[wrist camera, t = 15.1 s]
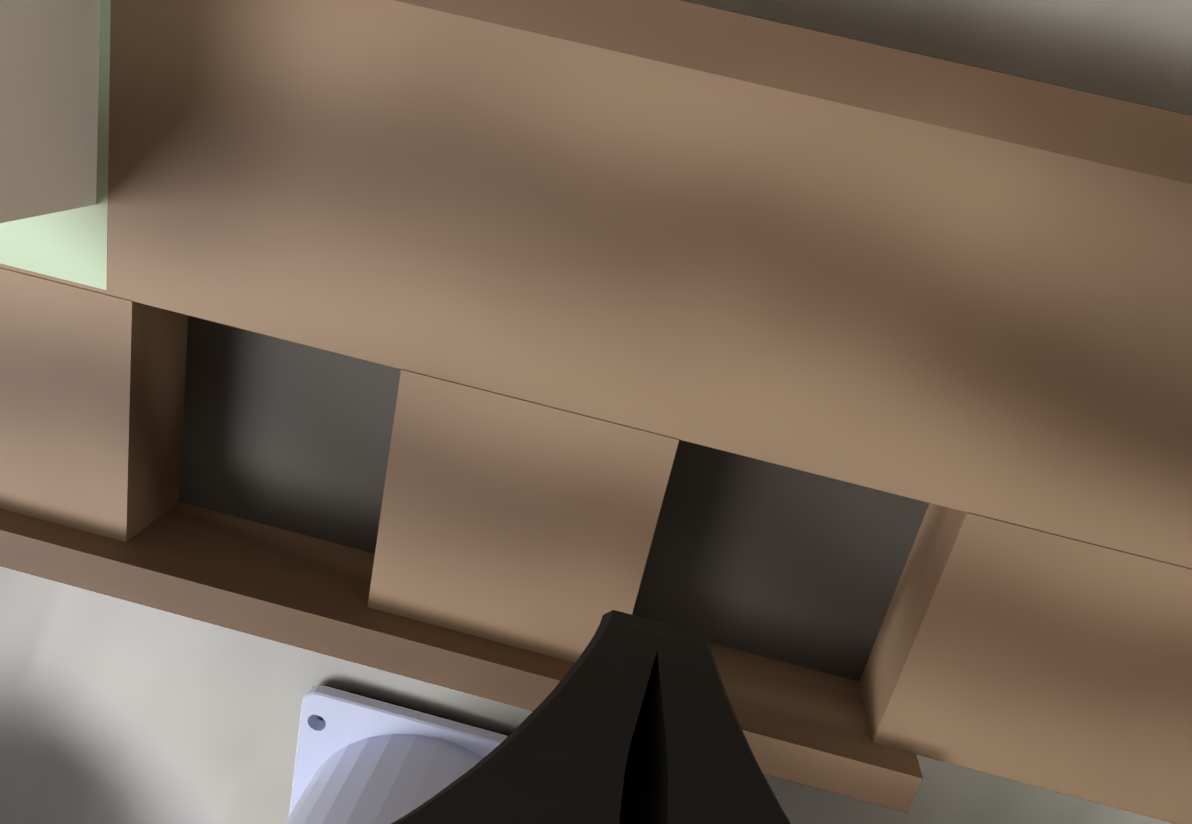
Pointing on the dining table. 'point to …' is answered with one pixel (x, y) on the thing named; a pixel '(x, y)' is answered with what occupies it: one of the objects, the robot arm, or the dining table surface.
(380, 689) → the dining table surface
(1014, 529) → the trap box
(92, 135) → the block
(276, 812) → the dining table surface
